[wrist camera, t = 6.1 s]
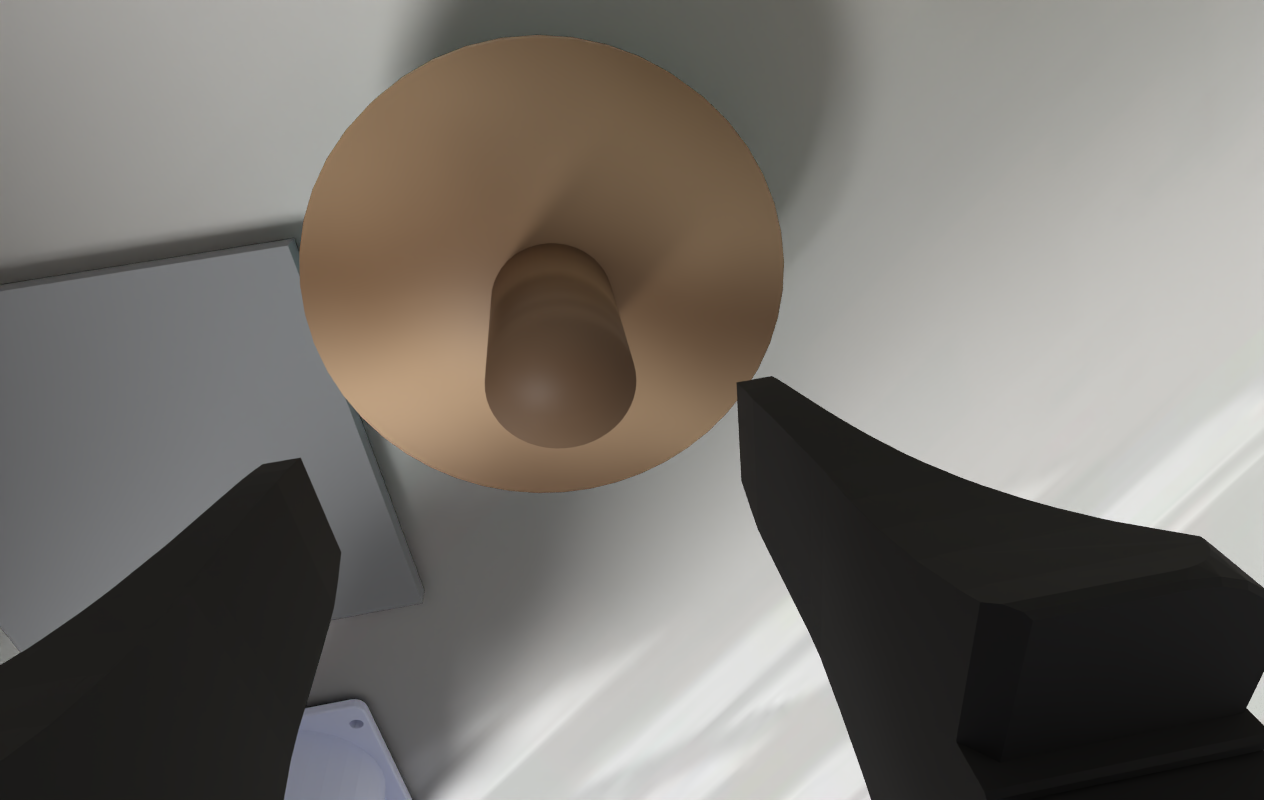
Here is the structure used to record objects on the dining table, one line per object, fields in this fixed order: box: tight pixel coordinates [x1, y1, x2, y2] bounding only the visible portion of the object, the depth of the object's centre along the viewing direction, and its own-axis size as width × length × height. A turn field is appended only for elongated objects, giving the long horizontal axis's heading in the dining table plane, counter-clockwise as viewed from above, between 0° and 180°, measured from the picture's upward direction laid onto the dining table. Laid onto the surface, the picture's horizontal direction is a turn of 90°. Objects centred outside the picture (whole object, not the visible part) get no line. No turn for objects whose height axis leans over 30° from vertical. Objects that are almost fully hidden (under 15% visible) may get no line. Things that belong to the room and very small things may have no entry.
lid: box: [299, 35, 784, 493], centre depth 16 cm, size 11×11×5 cm
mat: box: [0, 238, 424, 652], centre depth 22 cm, size 13×13×1 cm
